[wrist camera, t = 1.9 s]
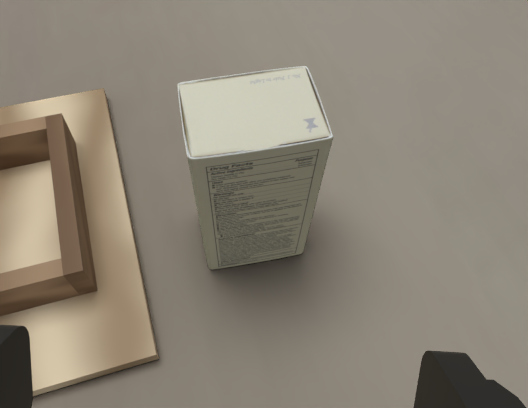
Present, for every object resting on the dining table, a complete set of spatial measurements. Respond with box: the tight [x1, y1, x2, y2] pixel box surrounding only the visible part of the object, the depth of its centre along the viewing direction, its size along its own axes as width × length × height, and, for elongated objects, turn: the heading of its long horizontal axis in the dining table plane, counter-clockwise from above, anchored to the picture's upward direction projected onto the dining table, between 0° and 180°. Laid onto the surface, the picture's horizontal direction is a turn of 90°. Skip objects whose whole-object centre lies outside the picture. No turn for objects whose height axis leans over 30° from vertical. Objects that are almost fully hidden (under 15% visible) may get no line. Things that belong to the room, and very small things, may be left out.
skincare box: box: [177, 66, 333, 270], centre depth 26 cm, size 6×4×12 cm
